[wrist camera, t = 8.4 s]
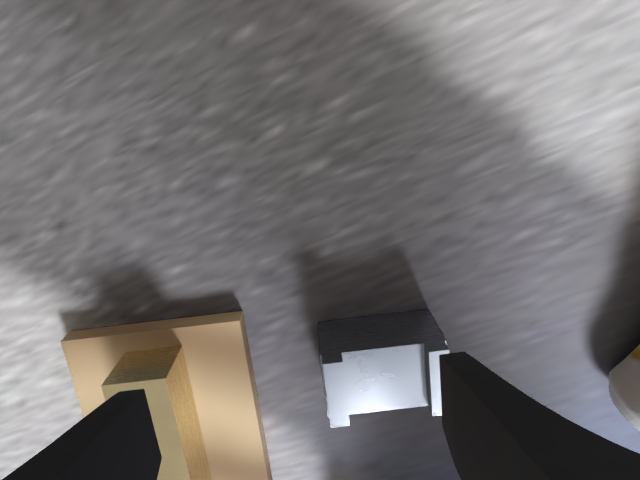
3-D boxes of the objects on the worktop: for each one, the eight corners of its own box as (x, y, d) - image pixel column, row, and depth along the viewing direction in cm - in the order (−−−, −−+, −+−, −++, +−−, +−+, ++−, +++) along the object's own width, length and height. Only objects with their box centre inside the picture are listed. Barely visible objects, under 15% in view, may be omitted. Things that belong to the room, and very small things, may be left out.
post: (431, 365, 23) (454, 414, 20) (325, 377, 23) (328, 428, 20) (428, 309, 22) (451, 349, 19) (317, 321, 22) (320, 364, 19)
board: (288, 570, 27) (287, 588, 26) (146, 586, 27) (140, 604, 26) (242, 311, 22) (239, 320, 21) (71, 330, 22) (60, 341, 21)
